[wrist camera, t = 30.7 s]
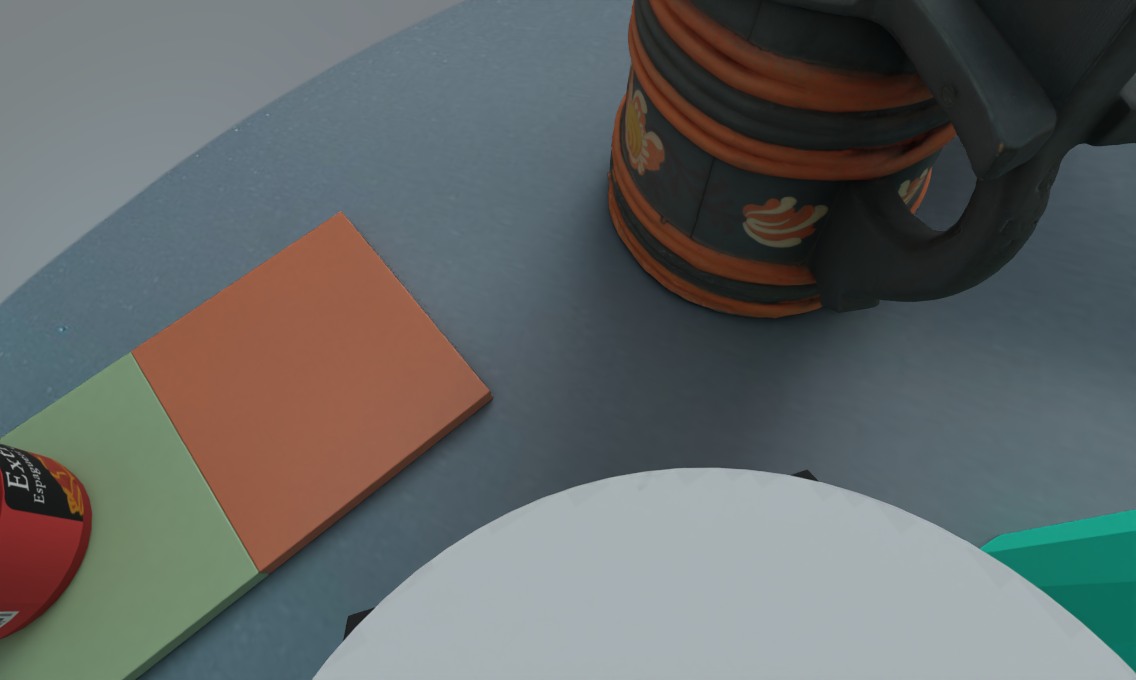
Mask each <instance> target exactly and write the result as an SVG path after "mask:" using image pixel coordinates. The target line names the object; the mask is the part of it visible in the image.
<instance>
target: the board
mask: <svg viewBox="0 0 1136 680" xmlns="http://www.w3.org/2000/svg"><path fill="white" fill-rule="evenodd" d="M492 399H493V396H492V394H491V392H490V390H489V389H488V388H487V387H486V386H485V384H484V383H483V382H482V381H481V379H480V378H479V377H478V376H477V375H476V373H475V372H474V371H473V370H472V369H471V367H470V366H469V365H468V364H467V363H466V361H465V360H464V359H463V358H462V356H461V355H460V354H459V353H458V352H457V350H456V349H455V348H454V347H453V346H452V344H451V343H450V342H449V341H448V340H447V338H446V337H445V336H444V335H443V334H442V332H441V331H440V330H439V329H438V327H437V326H436V325H435V324H434V323H433V321H432V320H431V319H430V318H429V317H428V315H427V314H426V313H425V312H424V311H423V309H422V308H421V307H420V306H419V304H418V303H417V302H416V301H415V300H414V298H413V297H412V296H411V295H410V294H409V292H408V291H407V290H406V289H405V288H404V286H403V285H402V284H401V283H400V281H399V280H398V279H397V278H396V277H395V275H394V274H393V273H392V272H391V271H390V269H389V268H388V267H387V266H386V265H385V263H384V262H383V261H382V260H381V258H380V257H379V256H378V255H377V254H376V252H375V251H374V250H373V249H372V248H371V246H370V245H369V244H368V243H367V242H366V240H365V239H364V238H363V237H362V235H361V234H360V233H359V232H358V231H357V229H356V228H355V227H354V226H353V225H352V223H351V222H350V221H349V220H348V219H347V217H346V216H345V215H344V214H343V212H339V213H338V214H336V215H335V216H333V217H332V218H330V219H329V220H327V221H326V222H324V223H323V224H321V225H320V226H318V227H317V228H315V229H314V230H312V231H311V232H309V233H308V234H306V235H305V236H303V237H302V238H300V239H299V240H297V241H296V242H294V243H293V244H291V245H290V246H288V247H287V248H285V249H284V250H282V251H281V252H279V253H278V254H276V255H275V256H273V257H272V258H270V259H269V260H267V261H266V262H264V263H263V264H261V265H260V266H258V267H257V268H255V269H254V270H252V271H251V272H249V273H248V274H246V275H245V276H243V277H242V278H240V279H239V280H237V281H236V282H234V283H233V284H231V285H230V286H228V287H227V288H225V289H224V290H222V291H221V292H219V293H218V294H216V295H215V296H213V297H212V298H210V299H209V300H207V301H206V302H204V303H203V304H201V305H200V306H198V307H197V308H195V309H194V310H192V311H191V312H189V313H188V314H186V315H185V316H183V317H182V318H180V319H179V320H177V321H176V322H174V323H173V324H171V325H170V326H168V327H167V328H165V329H164V330H162V331H161V332H159V333H158V334H156V335H155V336H153V337H152V338H150V339H149V340H147V341H146V342H144V343H143V344H141V345H140V346H138V347H137V348H135V349H134V350H132V351H131V352H130V353H128V354H126V355H125V356H123V357H122V358H120V359H119V360H117V361H116V362H114V363H113V364H111V365H110V366H108V367H107V368H105V369H104V370H102V371H101V372H99V373H98V374H96V375H95V376H93V377H92V378H90V379H89V380H87V381H86V382H84V383H83V384H81V385H80V386H78V387H77V388H75V389H74V390H72V391H71V392H69V393H68V394H66V395H65V396H63V397H62V398H60V399H59V400H57V401H56V402H54V403H53V404H51V405H50V406H48V407H47V408H45V409H44V410H42V411H41V412H39V413H38V414H36V415H35V416H33V417H32V418H30V419H29V420H27V421H26V422H24V423H23V424H21V425H20V426H18V427H17V428H15V429H14V430H12V431H11V432H9V433H8V434H6V435H5V436H3V437H2V438H0V444H4V445H7V446H11V447H14V448H18V449H21V450H25V451H28V452H32V453H36V454H39V455H42V456H45V457H48V458H51V459H54V460H55V461H57V462H58V463H60V464H61V465H63V466H64V467H66V468H67V469H68V470H69V471H70V472H72V473H73V474H74V475H75V476H76V477H77V478H78V480H79V481H80V482H81V483H82V484H83V485H84V488H85V490H86V492H87V494H88V496H89V499H90V505H91V510H92V529H91V534H90V539H89V543H88V548H87V550H86V553H85V555H84V558H83V560H82V563H81V565H80V567H79V569H78V570H77V572H76V574H75V576H74V577H73V579H72V581H71V583H70V584H69V585H68V587H67V588H66V589H65V590H64V592H63V593H62V594H61V596H60V597H59V598H58V599H57V601H56V602H55V603H53V604H52V605H51V606H50V607H49V608H48V609H47V610H46V611H45V612H44V613H43V614H42V615H41V616H40V617H38V618H37V619H36V620H34V621H33V622H32V623H30V624H29V625H27V626H26V627H25V628H23V629H21V630H19V631H17V632H15V633H13V634H11V635H10V636H8V637H6V638H3V639H0V680H136V679H137V678H138V677H139V676H141V675H142V674H143V673H145V672H146V671H147V670H148V669H150V668H151V667H152V666H153V665H155V664H156V663H157V662H159V661H160V660H161V659H162V658H164V657H165V656H166V655H167V654H169V653H170V652H171V651H173V650H174V649H175V648H176V647H178V646H179V645H180V644H181V643H183V642H184V641H185V640H187V639H188V638H189V637H190V636H192V635H193V634H194V633H195V632H197V631H198V630H199V629H200V628H202V627H203V626H204V625H206V624H207V623H208V622H209V621H211V620H212V619H213V618H214V617H216V616H217V615H218V614H220V613H221V612H222V611H223V610H225V609H226V608H227V607H228V606H230V605H231V604H232V603H234V602H235V601H236V600H237V599H239V598H240V597H241V596H242V595H244V594H245V593H246V592H248V591H249V590H250V589H251V588H253V587H254V586H255V585H256V584H258V583H259V582H260V581H262V580H263V579H264V578H265V577H267V576H268V575H269V573H272V572H273V571H274V570H275V569H277V568H278V567H279V566H280V565H282V564H283V563H284V562H286V561H287V560H288V559H289V558H291V557H292V556H293V555H294V554H296V553H297V552H298V551H300V550H301V549H302V548H303V547H305V546H306V545H307V544H308V543H310V542H311V541H312V540H314V539H315V538H316V537H317V536H319V535H320V534H321V533H322V532H324V531H325V530H326V529H328V528H329V527H330V526H331V525H333V524H334V523H335V522H336V521H338V520H339V519H340V518H342V517H343V516H344V515H345V514H347V513H348V512H349V511H350V510H352V509H353V508H354V507H355V506H357V505H358V504H359V503H361V502H362V501H363V500H364V499H366V498H367V497H368V496H369V495H371V494H372V493H373V492H375V491H376V490H377V489H378V488H380V487H381V486H382V485H383V484H385V483H386V482H387V481H389V480H390V479H391V478H392V477H394V476H395V475H396V474H397V473H399V472H400V471H401V470H403V469H404V468H405V467H406V466H408V465H409V464H410V463H411V462H413V461H414V460H415V459H417V458H418V457H419V456H420V455H422V454H423V453H424V452H425V451H427V450H428V449H429V448H431V447H432V446H433V445H434V444H436V443H437V442H438V441H439V440H441V439H442V438H443V437H444V436H446V435H447V434H448V433H450V432H451V431H452V430H453V429H455V428H456V427H457V426H458V425H460V424H461V423H462V422H464V421H465V420H466V419H467V418H469V417H470V416H471V415H472V414H474V413H475V412H476V411H478V410H479V409H480V408H481V407H483V406H484V405H485V404H486V403H488V402H489V401H490V400H492Z"/></svg>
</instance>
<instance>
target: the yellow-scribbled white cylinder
mask: <svg viewBox="0 0 1136 680" xmlns="http://www.w3.org/2000/svg"><path fill="white" fill-rule="evenodd" d="M312 680H1136V673H1135V672H1134V671H1133V670H1132V669H1131V668H1130V667H1129V666H1128V665H1127V664H1126V663H1125V662H1124V661H1123V660H1122V659H1121V658H1120V657H1119V656H1118V655H1117V654H1116V653H1115V652H1114V651H1113V650H1112V649H1111V648H1110V647H1108V646H1107V645H1106V644H1105V643H1104V642H1103V641H1102V640H1101V639H1100V638H1098V637H1097V636H1096V635H1095V634H1094V633H1093V632H1092V631H1091V630H1090V629H1089V628H1087V627H1086V626H1085V625H1084V624H1083V623H1082V622H1081V621H1079V620H1078V619H1077V618H1076V617H1074V616H1073V615H1072V614H1071V613H1069V612H1068V611H1067V610H1066V609H1064V608H1063V607H1062V606H1061V605H1059V604H1058V603H1057V602H1056V601H1054V600H1053V599H1052V598H1051V597H1050V596H1048V595H1047V594H1046V593H1044V592H1043V591H1042V590H1040V589H1039V588H1037V587H1036V586H1035V585H1033V584H1032V583H1030V582H1029V581H1028V580H1026V579H1025V578H1023V577H1022V576H1020V575H1019V574H1018V573H1016V572H1015V571H1013V570H1012V569H1011V568H1009V567H1008V566H1006V565H1004V564H1003V563H1001V562H1000V561H998V560H996V559H995V558H993V557H992V556H990V555H988V554H987V553H985V552H983V551H982V550H980V549H979V548H977V547H975V546H974V545H972V544H971V543H969V542H967V541H965V540H963V539H961V538H959V537H957V536H956V535H954V534H952V533H950V532H948V531H946V530H944V529H942V528H941V527H939V526H937V525H935V524H933V523H931V522H928V521H926V520H924V519H922V518H920V517H917V516H915V515H913V514H911V513H909V512H906V511H904V510H902V509H900V508H897V507H895V506H892V505H890V504H887V503H884V502H881V501H879V500H876V499H873V498H871V497H868V496H865V495H863V494H860V493H856V492H853V491H850V490H846V489H843V488H839V487H836V486H832V485H829V484H826V483H822V482H817V481H813V480H808V479H803V478H799V477H794V476H789V475H784V474H776V473H769V472H762V471H755V470H744V469H727V468H677V469H667V470H656V471H646V472H639V473H634V474H628V475H622V476H617V477H611V478H607V479H603V480H599V481H595V482H591V483H587V484H584V485H580V486H576V487H573V488H570V489H567V490H564V491H561V492H558V493H556V494H553V495H550V496H547V497H544V498H541V499H539V500H537V501H534V502H532V503H530V504H528V505H525V506H523V507H521V508H518V509H516V510H514V511H512V512H509V513H507V514H505V515H504V516H502V517H500V518H498V519H496V520H494V521H492V522H490V523H489V524H487V525H485V526H483V527H481V528H479V529H477V530H476V531H474V532H473V533H471V534H469V535H468V536H466V537H465V538H463V539H461V540H460V541H458V542H457V543H455V544H454V545H452V546H450V547H449V548H447V549H446V550H444V551H443V552H442V553H440V554H439V555H438V556H436V557H435V558H434V559H432V560H431V561H430V562H428V563H427V564H426V565H424V566H423V567H421V568H420V569H419V570H417V571H416V572H415V573H414V574H412V575H411V576H410V577H409V578H408V579H407V580H405V581H404V582H403V583H402V584H401V585H400V586H399V587H397V588H396V589H395V590H394V591H393V592H392V593H390V594H389V595H388V596H387V597H386V598H385V599H384V600H383V601H382V602H381V603H380V604H379V605H378V606H377V607H376V608H375V609H374V610H373V611H372V612H371V613H370V614H369V615H368V616H367V617H366V618H365V619H364V620H363V621H362V622H361V623H360V624H359V625H358V626H357V627H356V628H355V629H354V630H353V631H352V632H351V633H350V634H349V636H348V637H347V638H346V639H345V640H344V641H343V642H342V644H341V645H340V646H339V647H338V648H337V649H336V650H335V652H334V653H333V654H332V655H331V656H330V657H329V658H328V660H327V661H326V662H325V664H324V665H323V666H322V667H321V669H320V670H319V671H318V673H317V674H316V675H315V677H314V678H313V679H312Z"/></svg>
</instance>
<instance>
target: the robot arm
mask: <svg viewBox="0 0 1136 680" xmlns="http://www.w3.org/2000/svg"><path fill="white" fill-rule="evenodd" d="M789 476H794V477H799V478H803V479H808V480H813V481H817V482H819V481H818V480H817V479H816V478H815V477H814V476H813V475H812V474H811V473H810V472H809V471H808V470H805V471H802V472H799V473H796V474H792V475H789ZM375 608H376V607H375ZM375 608H372V609H369V610H366V611H362V612H359V613H356V614H353V615H350V616H348V619H347V624H346V629H345V634H344V639H343V641H344V640H345V639H346V638H347V637H348V636H349V634H350V633H351V632H352V631H353V630H354V629H355V628H356V627H357V626H358V625H359V624H360V623H361V622H362V621H363V620H364V619H365V618H366V617H367V616H368V615H369V614H370V613H371V612H372V611H373V610H374V609H375Z"/></svg>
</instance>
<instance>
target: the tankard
mask: <svg viewBox="0 0 1136 680" xmlns="http://www.w3.org/2000/svg"><path fill="white" fill-rule="evenodd" d="M628 43H629V51H630V56H631V65H630V72H629V78H628V85H627V92H626V94H625V96H624V97H623V99H622V101H621V103H620V106H619V109H618V111H617V115H616V119H615V125H614V131H613V136H612V145H611V147H612V151H611V160H610V172H609V173H608V174H607V175H608V179H609V184H610V185H609V191H608V199H609V211H610V214H611V218H612V221H613V225H614V226H615V228H616V230H617V232H618V235H619V236H620V237H621V239H622V240H623V242H624V243H625V245H626V246H627V247H628V248H629V250H630V251H631V252H632V254H633V256H634V257H635V258H636V260H637V261H638V262H639V264H640V265H641V266H642V267H643V269H644V270H645V271H646V272H648V273H649V274H651V275H652V276H653V277H654V278H655V279H656V280H657V281H658V282H659V283H661V284H662V285H663V286H665V287H666V288H667V289H669V290H670V291H672V292H674V293H676V294H677V295H680V296H681V297H682V298H684V299H686V300H688V301H690V302H692V303H695V304H697V305H700V306H704V307H707V308H710V309H712V310H714V311H717V312H721V313H727V314H731V315H736V316H742V317H753V318H759V317H762V318H766V317H771V318H778V317H783V316H787V315H794V314H800V313H805V312H809V311H812V310H816V309H819V308H820V307H822V306H828V307H829V308H830V309H832V310H834V311H836V312H848V311H854V310H860V309H866V308H871V307H875V306H877V305H878V304H879V300H889V301H901V302H917V301H927V300H935V299H940V298H944V297H948V296H951V295H954V294H957V293H960V292H962V291H965V290H967V289H969V288H972V287H974V286H976V285H978V284H979V283H981V282H983V281H984V280H986V279H987V278H989V277H990V276H992V275H993V274H995V273H996V272H997V271H999V270H1000V269H1001V268H1002V267H1003V266H1004V265H1005V264H1006V263H1008V262H1009V261H1010V260H1011V259H1012V258H1013V257H1014V256H1015V254H1016V253H1017V252H1018V251H1019V250H1020V249H1021V248H1022V246H1023V245H1024V244H1025V243H1026V241H1027V240H1028V238H1029V237H1030V236H1031V234H1032V233H1033V231H1034V230H1035V227H1036V225H1037V223H1038V221H1039V219H1040V217H1041V216H1042V215H1043V213H1044V211H1045V209H1046V206H1047V203H1048V199H1049V194H1050V189H1051V186H1052V185H1053V183H1054V181H1055V178H1056V175H1057V173H1058V170H1059V166H1060V163H1061V161H1062V159H1063V157H1064V156H1065V154H1066V153H1067V152H1068V151H1069V150H1070V149H1072V148H1073V147H1075V146H1076V145H1078V144H1082V143H1086V144H1089V145H1092V146H1108V145H1120V144H1127V143H1136V0H634V2H633V6H632V14H631V18H630V23H629V31H628ZM956 134H957V135H958V136H959V138H960V141H961V143H962V144H963V147H964V148H965V150H966V153H967V155H968V158H969V160H970V163H971V166H972V169H973V171H974V173H975V175H976V176H977V181H976V187H975V190H974V192H973V194H972V196H971V199H970V201H969V203H968V205H967V207H966V209H965V211H964V213H963V214H962V216H961V218H960V219H959V220H958V222H957V223H956V224H955V225H954V226H952V227H951V228H950V229H948V230H947V231H935V230H932V229H931V228H929V227H927V226H926V225H925V224H924V223H922V222H921V221H920V220H919V219H917V218H916V217H915V216H914V215H913V214H914V213H915V211H916V209H917V208H918V207H919V205H920V204H921V202H922V200H923V198H924V195H925V193H926V191H927V188H928V185H929V181H930V177H931V172H932V166H933V164H934V162H935V160H936V159H937V157H938V155H939V153H940V152H941V150H942V148H943V146H945V145H946V144H947V143H948V142H950V141H951V140H952V139H953V138H954V137H955V135H956Z"/></svg>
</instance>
